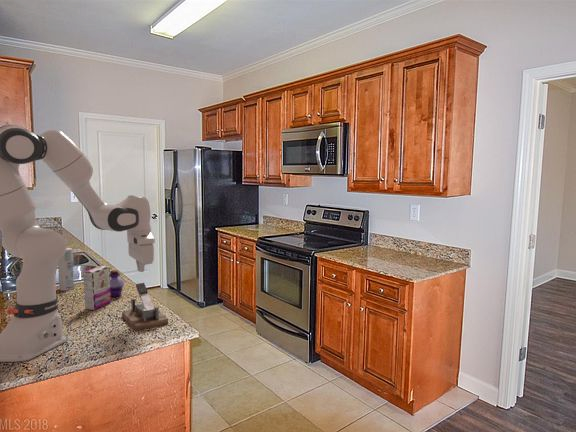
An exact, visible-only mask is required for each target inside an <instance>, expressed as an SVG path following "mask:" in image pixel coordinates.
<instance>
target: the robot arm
mask: <svg viewBox="0 0 576 432" xmlns="http://www.w3.org/2000/svg"><path fill="white" fill-rule="evenodd" d="M39 160H41V161H43V163H45V164H46V165H47V166H48V167H49V168H50V170H51V171H52V172H53V173H54V174H55V175H56V177H58V178H59V180H60V181H62V183H64V185H66V186H67V188H69V190H70V191H71V192H72V193H73V194H74V196H75V197H76V199H77V200H78V201H79V202H80V204H81V205H82V206H83V207H84V208H85V211H86V212H87V214H88V217H89V221H90V222H91V224H92V225H93V226H94V227H95V228H96V229H97V230H101V231H102V230H103V231H110V232H116V233H121V232H124V231H126V237H127V238H126V240H127V243H128V247H127V248H128V256H129V257H130V258H132V259H134V260H135V263H136V266H137V271H138V272H140V273H144V272H145V265H152V264H153V263H154V259H155V254H154V253H155V250H154V249H155V248H154V244H155V242H156V241H155V236H154V235H153V233H152V227H151V218H152V217H151V208H150V207H151V206H150V201H149V199H148V198H147V197H145V196H140V195H128V196H127V197H126V198H125V199H124V200H122V201H120V202H119V203H117V204H116V203H115V205H114V204H109V203H107V202H105V201H103V200H102V198H101V197H100V196H99V195H98V193H97V192H96V191H95V190H94V188H93V186H92V185H91V183H90V180H91V178H92V177H93V173H94V167H93V166H92V164H91V162H90V160H89V159H88V158H87V156H86V155H85V154H84V152H83V151H82V150H81V149H80V148H79V147H78V145H77V144H76V143H75V142H74V141H73V140H72V139H70V138H69V137H68V136H67V135H66V134H65V133H64V132H63V131H60V130H58V129H50V130H46V131H43V132H42V133H41V134H37V133H35V132H33V131H30V130H28V128H26V127H24V126H20V125H15V124H6V125H2V126H0V233H1V236H2V237H1V245H2V248H3V249H4V250H5V252H7V253H8V254H10V255H11V256H13V257H15V258H20V259H22V265H21V271H20V274H19V276H17V277H16V280H15V285H16V287H15V288H16V303H15V307H14V308H13V307H9V308H8V307H7V309H6V314H7V315H12V316H13V317H12V318H11V320H9V322H8V324H7V325H6V326H5V327H4V328H3V330H2V331H1V333H0V363H2V362H5V363H7V362H8V363H11V362H12V363H16V362H17V363H18V362H23V361H24V362H25V361H29V360H31V359H34V358H36V357H38V356H40V355H42V354H44V353H45V352H48V351H49V350H52V349H54V348H56V347H58V346H60V345H62V344H64V343H66V342H67V340H68V339H67V337H66V336H65V334H64V329H63V328H64V327H63V323H62V317H61V315H60V313H59V311H58V309H59V299H58V296H57V292H56V291H57V286H56V282H57V281H56V275H57V270H58V263H59V260H60V258H61V257H62V256H63V255H64V254H65V252H66V249H67V248H68V244H67V239H66V238H65V237H64V235H62V234H61V233H60V232H57V231H56V230H53V229H52V228H51V229H50V228H45V227H41V226H40V225H39V224H38V222H37V219H36V213H35V210H36V209H37V208H36V207H37V205H36V203H35V201H34V199H33V197H32V196H31V193H30V192H29V189H28V188H27V185H26V183H25V181H24V179H23V177H22V176H21V174H20V170H19V167H20V165H25V164H29V163H32V162H37V161H39Z"/></svg>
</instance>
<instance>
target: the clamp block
mask: <svg viewBox="0 0 576 432" xmlns="http://www.w3.org/2000/svg"><path fill="white" fill-rule="evenodd" d="M153 307H154V311H150V312H146V310H145V308H144V306H143V303H139V304H136V299H135V298H131V299H130V308H131V309H130V310H131V311H132V312H135V313H137V314H138V315H139V316H140V317H141V318H142V322H144V323H145V322H146V320H150V319H155V320H159V312H160V311H159V306H153Z"/></svg>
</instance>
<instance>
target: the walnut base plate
mask: <svg viewBox="0 0 576 432" xmlns="http://www.w3.org/2000/svg"><path fill="white" fill-rule="evenodd" d="M121 317H122V318H123V319H124V320H125V322H127V323H128V324H129V325H130V327H132V328H133V329H134V331H135V332H137V331H141V330H146V329H151V328H154V327H160V326H164V325H168V324H169V318H168V317H167V316H165V315H164V314H163V313H162V312H161V311H159V320H155V319H150V320H146V322H145V323H144V322H142V318H141V317H140V316H139V315H138V314H137V313H135V312H132V311H131V309H130V310H123V311H122V312H121Z"/></svg>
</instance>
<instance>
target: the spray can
mask: <svg viewBox="0 0 576 432" xmlns="http://www.w3.org/2000/svg"><path fill="white" fill-rule="evenodd" d="M73 252H74V250H73V248H72V247H67V249H66V252H65V254H64V255H63V256H62V257H61V258H60V260H59V263H58V266H57V270H58V283H59V284H58V285H59V291H61V292H62V291H63V292H64V291H72V290H73V289H75V281H74V279H75V277H74V258H73V257H74V255H73V254H74V253H73Z"/></svg>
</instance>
